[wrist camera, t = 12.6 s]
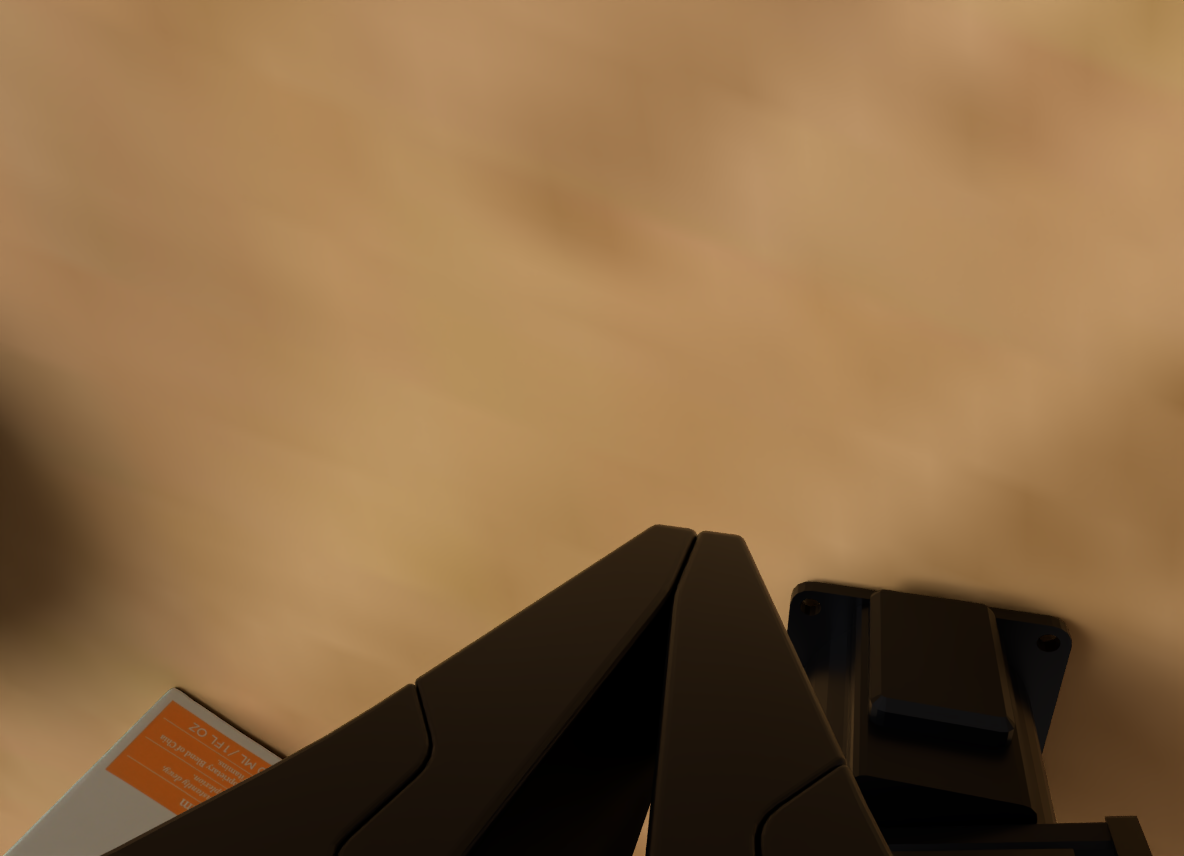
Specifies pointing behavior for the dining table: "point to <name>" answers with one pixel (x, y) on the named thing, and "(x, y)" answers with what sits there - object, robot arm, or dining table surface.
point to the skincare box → (146, 780)
